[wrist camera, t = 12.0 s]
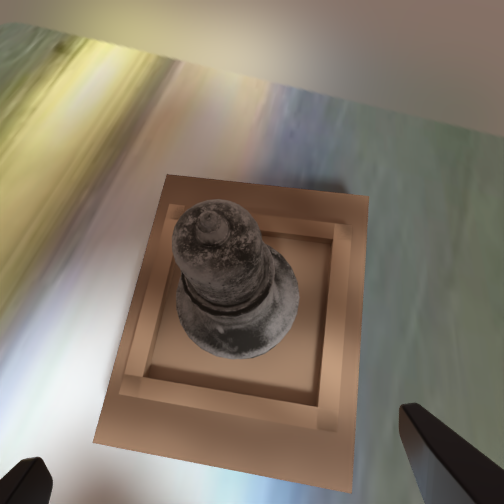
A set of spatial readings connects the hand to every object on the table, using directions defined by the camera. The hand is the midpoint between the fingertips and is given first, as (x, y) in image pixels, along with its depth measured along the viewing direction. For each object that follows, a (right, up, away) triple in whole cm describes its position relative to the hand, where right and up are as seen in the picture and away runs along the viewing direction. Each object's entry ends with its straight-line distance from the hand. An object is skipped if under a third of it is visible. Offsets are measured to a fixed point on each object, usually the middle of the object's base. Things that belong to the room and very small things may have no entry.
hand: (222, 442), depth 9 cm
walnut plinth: (+1, +1, +15) cm, 15 cm away
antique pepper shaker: (0, +1, +12) cm, 12 cm away
